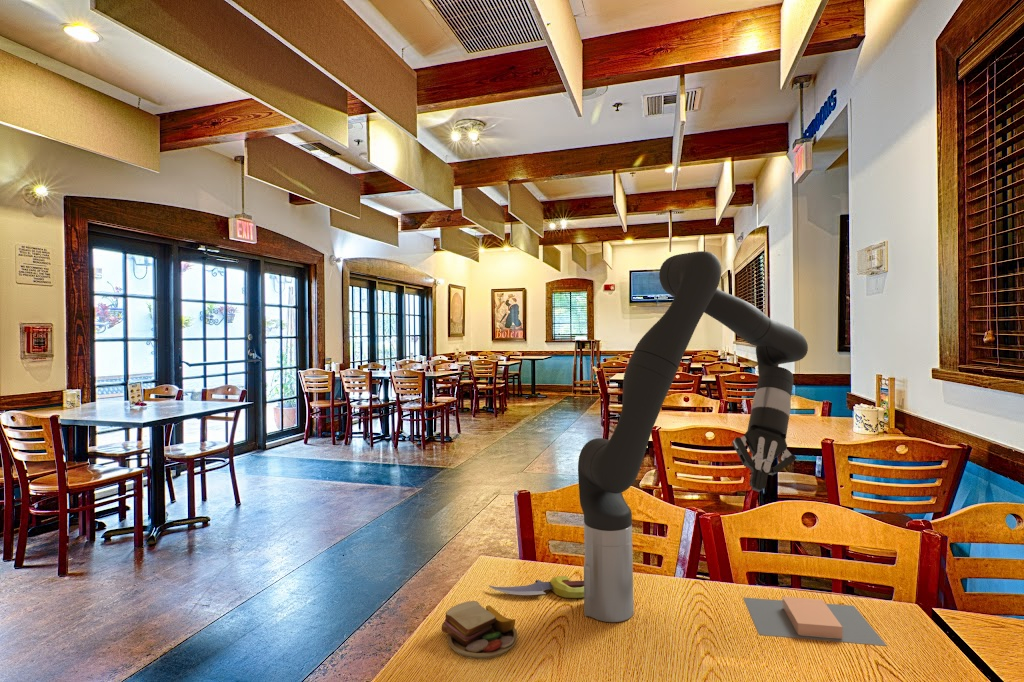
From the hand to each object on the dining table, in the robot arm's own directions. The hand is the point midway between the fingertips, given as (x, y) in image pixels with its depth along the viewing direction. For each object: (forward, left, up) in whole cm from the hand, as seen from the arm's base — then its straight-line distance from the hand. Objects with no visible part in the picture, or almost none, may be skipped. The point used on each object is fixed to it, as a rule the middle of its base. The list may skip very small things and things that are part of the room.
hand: (756, 490), depth 112 cm
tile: (+7, -6, -20) cm, 22 cm away
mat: (+7, -10, -22) cm, 25 cm away
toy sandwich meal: (-52, -25, -22) cm, 62 cm away
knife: (-42, -5, -22) cm, 48 cm away
